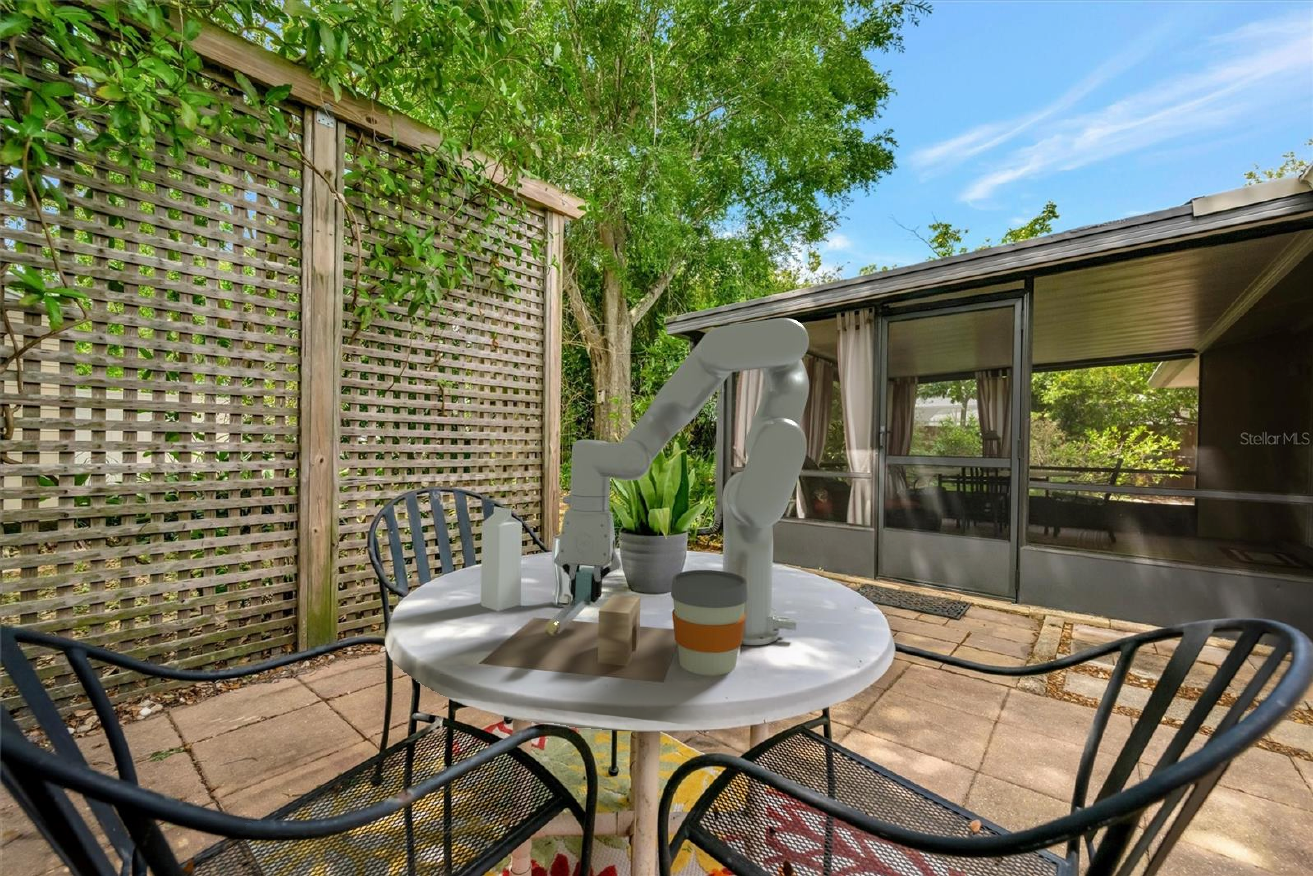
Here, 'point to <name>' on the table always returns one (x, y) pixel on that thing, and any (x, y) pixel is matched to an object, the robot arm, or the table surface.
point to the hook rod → (574, 602)
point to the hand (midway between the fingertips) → (585, 598)
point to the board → (583, 651)
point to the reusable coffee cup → (708, 619)
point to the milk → (501, 561)
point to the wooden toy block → (618, 629)
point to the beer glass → (560, 579)
